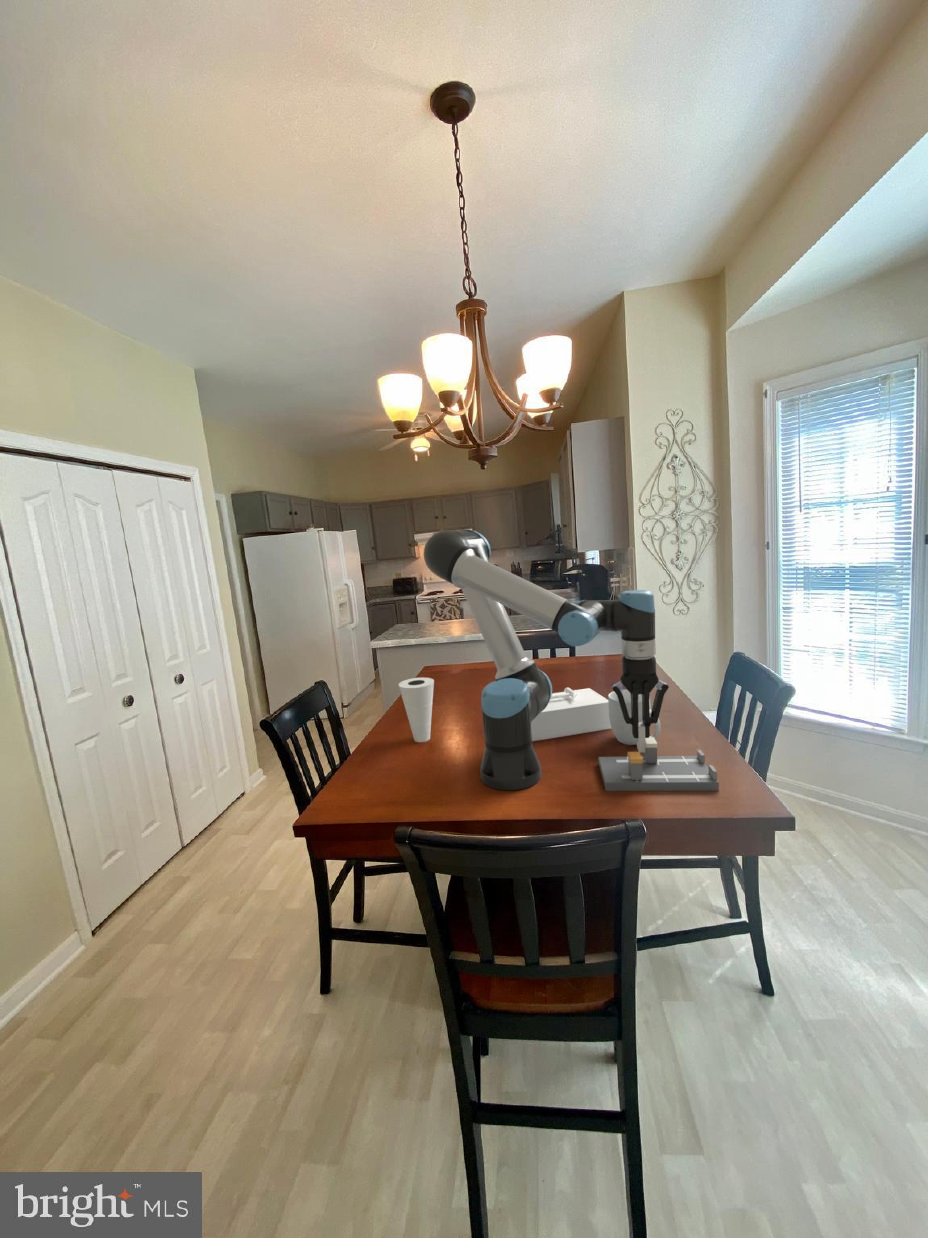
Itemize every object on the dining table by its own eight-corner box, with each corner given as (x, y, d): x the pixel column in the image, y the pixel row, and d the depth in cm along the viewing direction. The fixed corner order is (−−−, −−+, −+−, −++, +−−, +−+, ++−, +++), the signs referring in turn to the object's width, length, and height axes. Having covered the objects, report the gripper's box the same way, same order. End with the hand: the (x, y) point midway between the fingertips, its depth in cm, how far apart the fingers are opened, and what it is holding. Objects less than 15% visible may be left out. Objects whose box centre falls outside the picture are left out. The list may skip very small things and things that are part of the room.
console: (605, 790, 109) (605, 774, 108) (598, 764, 122) (598, 749, 121) (718, 790, 105) (718, 773, 105) (699, 763, 118) (699, 748, 117)
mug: (672, 744, 129) (671, 698, 127) (647, 757, 123) (645, 708, 121) (626, 729, 142) (625, 686, 140) (601, 740, 136) (599, 696, 134)
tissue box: (611, 729, 143) (610, 694, 142) (531, 742, 139) (529, 706, 137) (590, 713, 157) (588, 681, 156) (517, 724, 153) (514, 691, 151)
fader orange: (631, 780, 108) (630, 759, 108) (628, 772, 112) (627, 751, 111) (643, 780, 108) (642, 759, 107) (639, 771, 112) (639, 751, 111)
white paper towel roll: (399, 745, 144) (392, 688, 141) (413, 731, 154) (407, 677, 151) (432, 747, 141) (426, 688, 138) (444, 732, 151) (438, 677, 148)
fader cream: (646, 763, 115) (646, 743, 115) (643, 756, 119) (642, 737, 118) (657, 763, 115) (657, 743, 114) (654, 756, 119) (653, 737, 118)
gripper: (612, 661, 111) (616, 757, 114) (672, 658, 109) (673, 756, 112) (607, 653, 118) (611, 743, 122) (663, 650, 116) (665, 743, 120)
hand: (641, 749), depth 117 cm, fingers closed
